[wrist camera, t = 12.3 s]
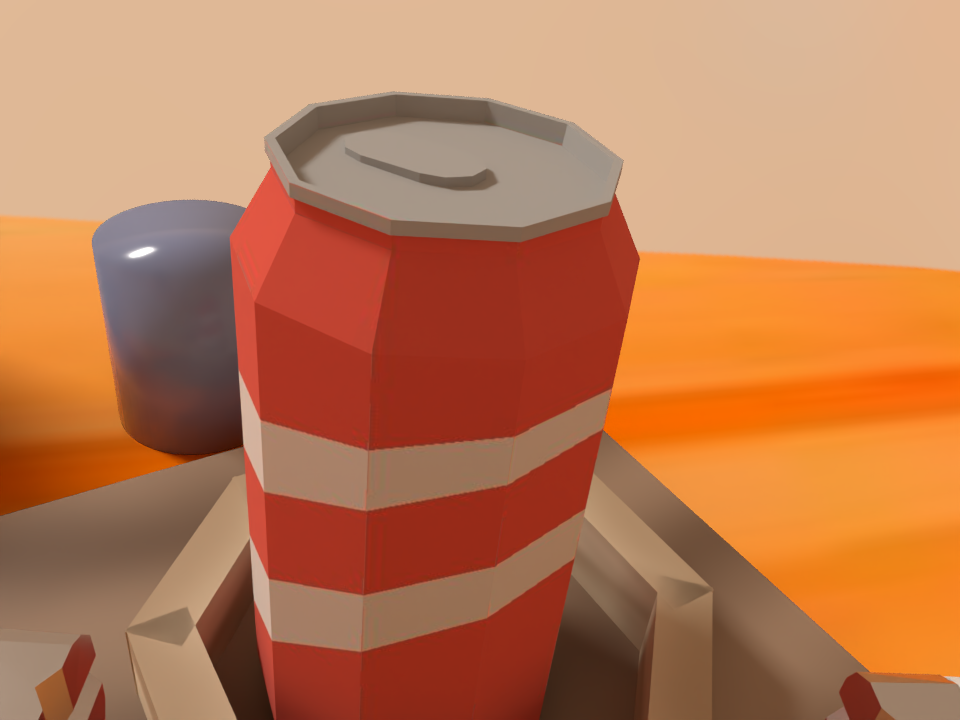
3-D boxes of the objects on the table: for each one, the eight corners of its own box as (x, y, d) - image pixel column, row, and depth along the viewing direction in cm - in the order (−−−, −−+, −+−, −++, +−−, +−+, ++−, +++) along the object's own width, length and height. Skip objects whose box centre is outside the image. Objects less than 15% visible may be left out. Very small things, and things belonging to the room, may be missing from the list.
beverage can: (374, 529, 23) (394, 60, 16) (595, 649, 21) (724, 153, 14) (197, 695, 19) (125, 144, 12) (452, 874, 16) (541, 303, 9)
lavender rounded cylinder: (102, 382, 29) (73, 214, 26) (250, 348, 32) (241, 190, 28) (144, 473, 26) (117, 293, 22) (306, 427, 28) (303, 259, 25)
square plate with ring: (-67, 573, 22) (-101, 475, 20) (526, 392, 31) (538, 314, 29) (122, 1664, 10) (79, 1656, 8) (1011, 854, 19) (1083, 766, 17)
